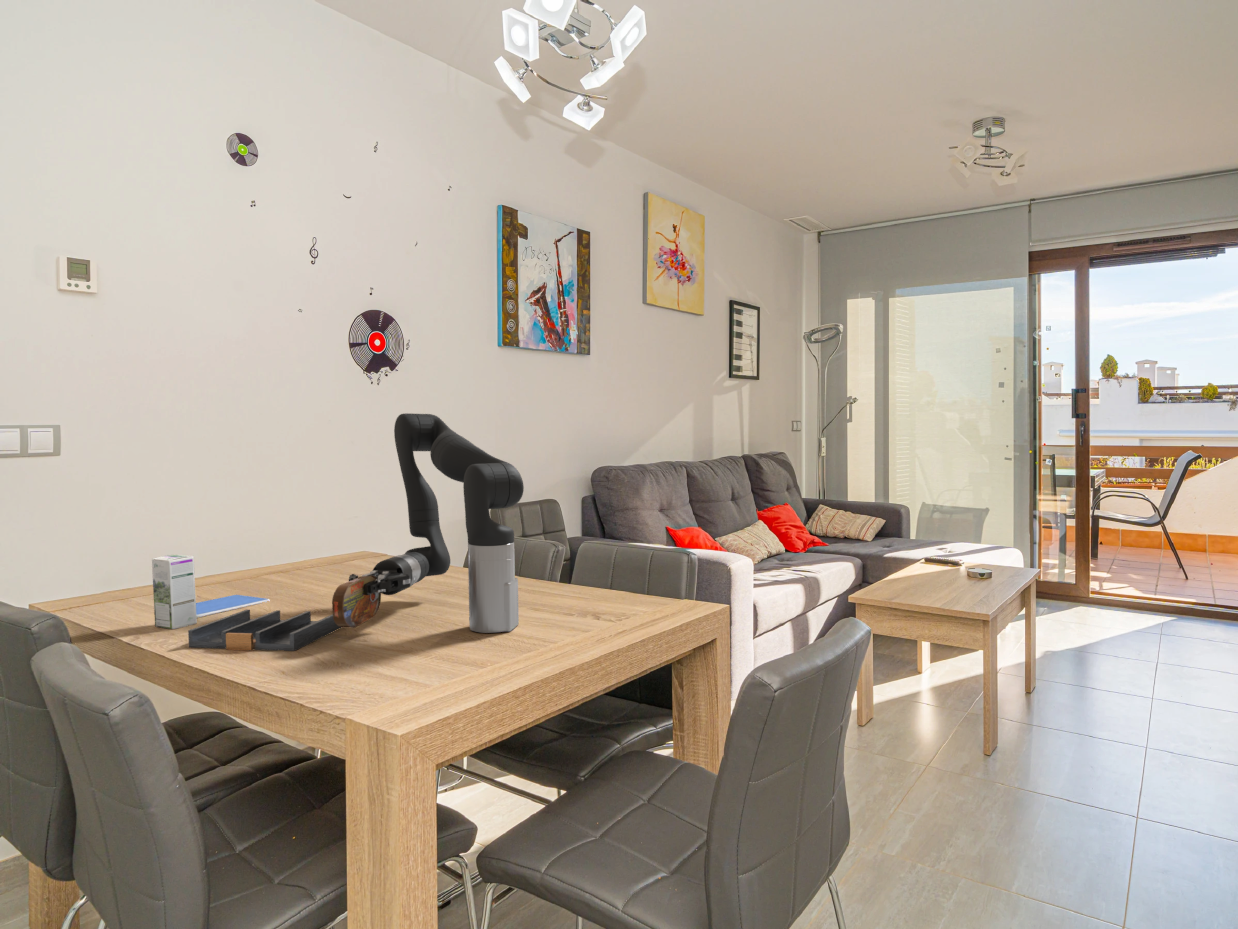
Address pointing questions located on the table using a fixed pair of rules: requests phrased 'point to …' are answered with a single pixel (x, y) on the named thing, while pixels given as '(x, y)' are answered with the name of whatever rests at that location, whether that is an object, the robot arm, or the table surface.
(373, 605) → the tin
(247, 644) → the rack
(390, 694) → the table surface
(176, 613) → the syrup box
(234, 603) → the tablet computer
